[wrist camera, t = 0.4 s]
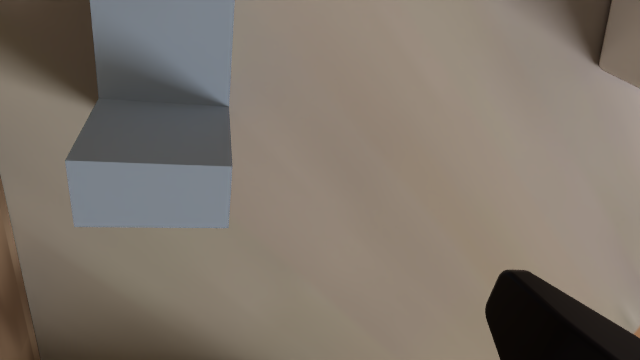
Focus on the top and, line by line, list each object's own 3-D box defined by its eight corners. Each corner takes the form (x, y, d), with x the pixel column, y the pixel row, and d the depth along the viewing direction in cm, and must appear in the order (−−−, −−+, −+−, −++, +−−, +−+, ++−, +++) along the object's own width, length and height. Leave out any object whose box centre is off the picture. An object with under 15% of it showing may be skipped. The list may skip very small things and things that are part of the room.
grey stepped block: (224, 123, 19) (228, 228, 14) (118, 117, 19) (74, 226, 13) (232, -37, 16) (241, 9, 11) (106, -53, 16) (41, -13, 10)
